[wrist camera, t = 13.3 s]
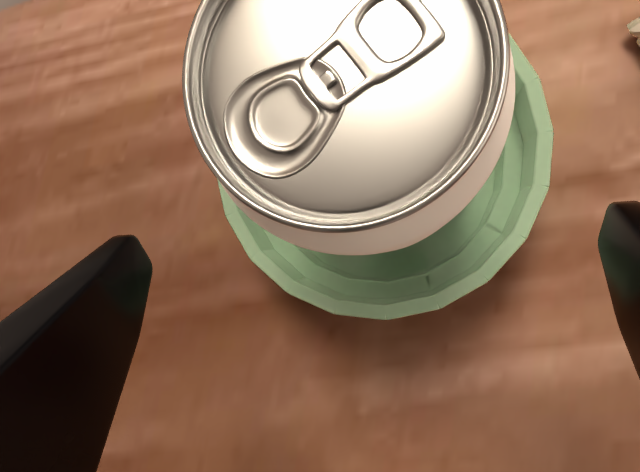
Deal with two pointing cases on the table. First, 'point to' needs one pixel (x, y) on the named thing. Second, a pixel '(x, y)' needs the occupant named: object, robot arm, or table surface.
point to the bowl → (435, 250)
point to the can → (350, 113)
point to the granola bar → (635, 29)
